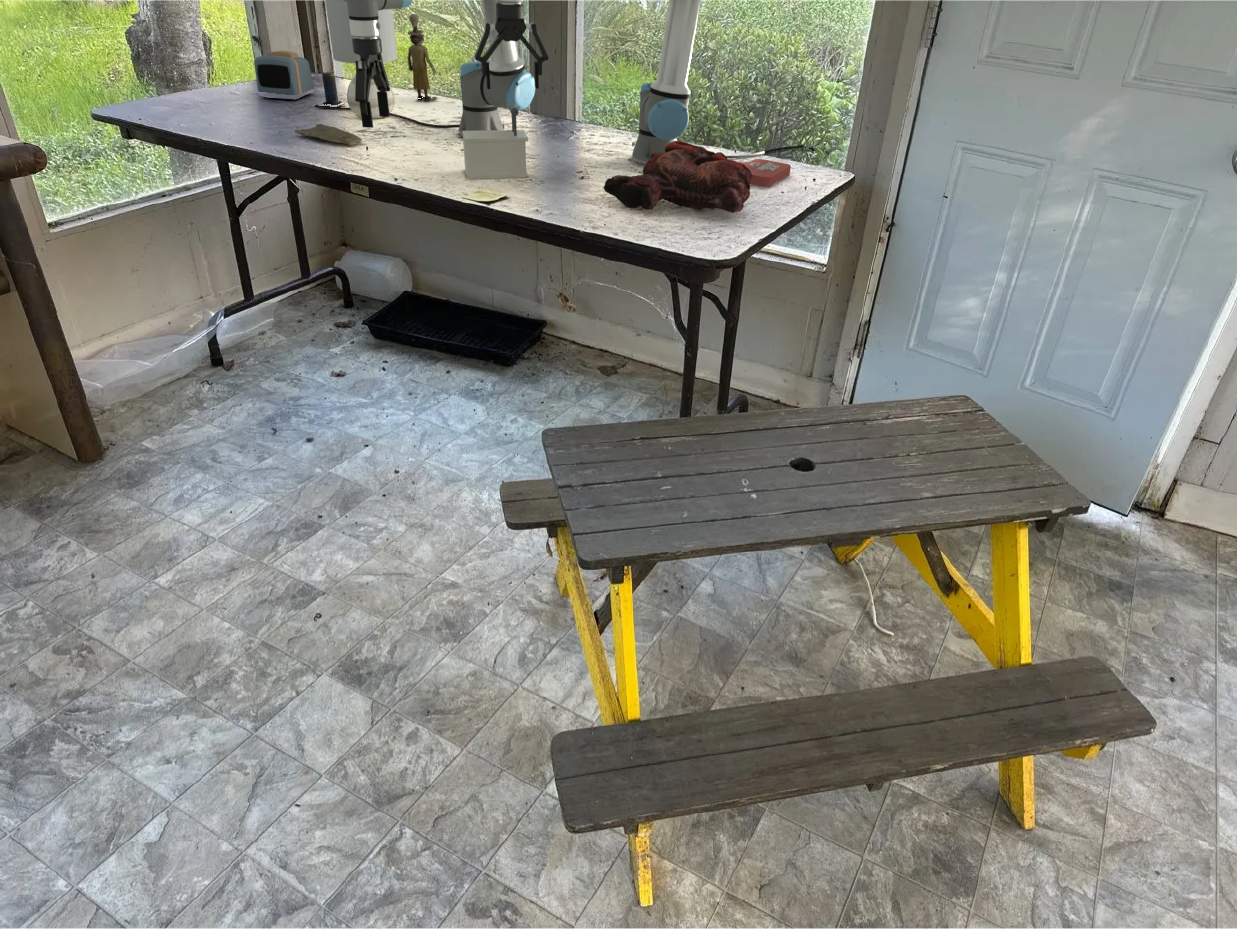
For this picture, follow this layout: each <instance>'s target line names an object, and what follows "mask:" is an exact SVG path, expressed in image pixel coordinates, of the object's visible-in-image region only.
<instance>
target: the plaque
mask: <svg viewBox="0 0 1237 929" xmlns="http://www.w3.org/2000/svg"><path fill="white" fill-rule="evenodd" d="M739 162H740V163H742V164H744V165H745V166H746V167H747V168H749V169H750V171H751V173H752V178H751V180H750V186H751V185H752V186H755V187H762V188H769V187H772V186H773V185H775V184H777V183H779V182H780V181H782V180H784V179H786V178H788V177H789V176H790V175H791V168H792V165H791V164H789V163H786V162H781V161H775V160H769V159H763V158H754V159H752V160H749V161H739Z"/></svg>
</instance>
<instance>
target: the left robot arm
mask: <svg viewBox="0 0 1237 929" xmlns="http://www.w3.org/2000/svg"><path fill="white" fill-rule="evenodd" d="M344 1H345V2H347V7H348V14H349V23H350V31H351V35H352V36H354V38H352V45H353V52H354V53H355V54H359V55H360V61H355V63H354V65H355V75H356V86H355V101H356V102H359V103H360V111H361V117H360V118H361V124H362V128H367V129H372V128H374V122H373V121H374V120H373V119H372V113H371V105H370V102H368V100H369V92H370V84H371V79H373V80H374V82H375V85H376V87H377V89H378V92H377V98H378V107H379V115H380V116H381V117H382V118H390V117H394V118H398V119H401V120H405V121H408V122H411V123H414V124H417V125H419V126H423V127H428V128H429V127H430V128H435V129H453V128H454V129H455V128H458V136H459V137H460V138H462V139H463V131H485V130H505V124H504V123H503V122H502V119H501V117H500V114H499V108H502V109H507V110H509V106H510V105H511V104H514V105H515V106H516V107H517V109H518V111H523V110H525V109H527V108H528V107H529V106H530V105H531V103H532V101H533V98H534V97H535V94H536V88H535V76H533V75H532V73H530V72H528V71H527V70H526V64H525V61H524V59H523V58H521V57H520V56H519V49H518V44H517V42H518V41H517V42H514V41H509V42H506V41H504V40H502V41H501V43H500V44H499V45H498V46H497V48H496V49H495V51H494V52H493V53H492V55H491V56H490V58H491V59H488V60H487V62H488V63H489V72H490V89H487V82H486V76H483V74H482V64H481V62H480V61H477V60H476V61H474V62H471V61H467V62H464V63H462V64H461V65H460V68H459V73H460V75H459V81H460V91H461V105H462V113H461V118H460V121H459V124H446V125H445V124H433V123H426V122H422V121H418V120H416V119H413V118H410V117H407V116H404V115H400V114H396V113H392V112H390V113H389V105H388V96H387V92H386V91H390V87H391V86H390V87H389V85H390V82H389V79H388V75H387V72H386V68H385V65H384V62H383V60H382V54H381V53H382V43H381V39H380V38H379V37H378V36H380V27H381V24H379V17H378V10H386V9H392V10H402V9H405V8H408V7H410V6H411V5H412V4H413V2H414V0H344ZM480 2H481V6H482V13H483V18H484V24H485V23H486V22H488V23H491V24H495V23H496V4H497V3H498V1H496V0H481V1H480ZM498 34H499V33H498V32H497V31H496V29H493V31H492V32H490V34H489V37H488V39H487V42H488V48H489V47H490V46H491V44H492V43H493V41H494V40H495V38H496V37H497V35H498ZM379 91H380V92H379ZM319 105H320V104H316V105H315V104H314V107H315V108H319V109H320V108H321V107H320V106H319ZM323 107H324V106H323ZM341 107H342V106H340V107H333V108H330V106H329V107H328V106H326V107H325V108H324V109H331V110H341V111H343V110H344V111H352V110H351V109H350V107H349V108H341ZM321 109H322V108H321Z"/></svg>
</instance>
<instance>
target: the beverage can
mask: <svg viewBox="0 0 1237 929" xmlns="http://www.w3.org/2000/svg"><path fill="white" fill-rule="evenodd" d="M321 77H322V85H323V91H324V97H325V101H323V102H322V103H321V104H324V105H325V104H326V105H327V104H331V105H338V104H340V103H342V102H344V104H342V105H339V106H337V107H342V106H344V105H345V101H342V100H339V97H338V95H339V94H338V88H337V82H336V74H334V72H333V71H323V72H322V74H321ZM320 107H321V109H326V108H325V107H326V106H324V107H323V106H320ZM328 107H329V106H328ZM330 108H333V107H330ZM330 108H329V109H330Z"/></svg>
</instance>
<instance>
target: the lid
mask: <svg viewBox="0 0 1237 929" xmlns="http://www.w3.org/2000/svg"><path fill="white" fill-rule="evenodd" d="M508 110H509V113H510V114H511V129H504V130H485V131H463V137H464V140H465V143H470V142H518V141H525V142H529V137H528V135H527V134H526V131H525V129H517V116H519V113H520V110H518V109H517V107H516V106H515V105H514V104H511V105H510V106H509V109H508Z"/></svg>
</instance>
